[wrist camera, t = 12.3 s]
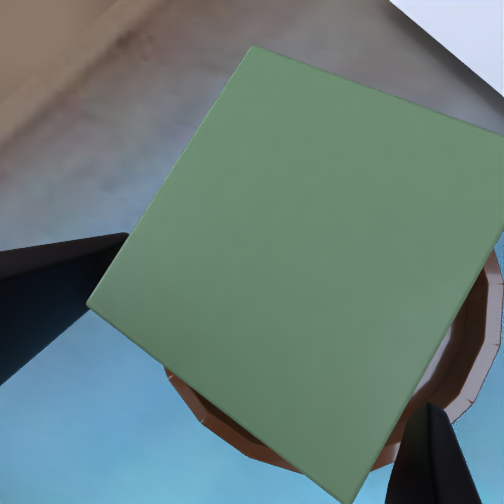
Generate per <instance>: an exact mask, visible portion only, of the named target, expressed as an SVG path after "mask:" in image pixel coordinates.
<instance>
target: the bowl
mask: <svg viewBox="0 0 504 504" xmlns="http://www.w3.org/2000/svg"><path fill="white" fill-rule="evenodd" d="M503 296H504V281H503V278H502V274H501V271H500V268H499V264H498V261H497V257H496V254H495V251H494V248H493V250H492V252H491V254H490V256H489V257H488V259H487V261H486V263H485V265H484V266H483V268H482V270H481V272H480V274H479V275H478V277H477V279H476V281H475V283H474V284H473V286H472V288H471V290H470V292H469V293H468V295H467V297H466V299H465V301H464V303H463V304H462V306H461V308H460V310H459V312H458V313H457V315H456V317H455V319H454V321H453V322H452V324H451V326H450V328H449V330H448V331H447V333H446V335H445V337H444V339H443V340H442V342H441V344H440V346H439V348H438V349H437V351H436V353H435V355H434V357H433V359H432V360H431V362H430V364H429V366H428V368H427V369H426V371H425V373H424V375H423V377H422V378H421V380H420V382H419V384H418V386H417V387H416V389H415V391H414V393H413V395H412V396H411V398H410V400H409V402H408V404H407V405H406V407H405V409H404V411H403V413H402V415H401V416H400V418H399V420H398V422H397V424H396V425H395V427H394V429H393V431H392V433H391V434H390V436H389V438H388V440H387V442H386V443H385V445H384V447H383V449H382V451H381V452H380V454H379V456H378V458H377V460H376V461H375V463H374V465H373V467H372V469H371V471H374V470H376V469H378V468H381V467H383V466H386V465H388V464H390V463H393V462H395V460H396V456H397V453H398V450H399V446H400V443H401V440H402V436H403V433H404V430H405V427H406V424H407V421H408V419H409V418H410V417H411V415H412V414H414V413H415V412H416V411H417V410H418V409H419V408H420V407H421V406H422V405H423V404H424V403H425V402H431V403H433V404H435V405H436V406H438V407H440V408H442V409H443V410H445V412H446V413H447V415H448V417H449V420H450V422H451V425H452V424H453V423H454V422H455V421H456V420H457V419H458V418H459V417H460V416H461V415H462V414H463V413H464V412H465V411H466V410H467V409H469V408H470V407H471V406H472V404H473V403H474V402H475V400H476V398H477V396H478V393H479V391H480V389H481V387H482V385H483V383H484V380H485V378H486V376H487V374H488V372H489V370H490V367H491V365H492V363H493V361H494V359H495V357H496V354H497V352H498V350H499V348H500V343H501V327H502V312H503ZM164 369H165V372H166V375H167V377H168V378H169V381H170V382H171V384H172V385H173V386H174V388H175V389H176V391H177V392H178V393H179V395H180V396H181V397H182V399H183V400H184V401H185V403H186V404H187V405H188V407H189V408H190V410H191V411H192V412H193V414H194V415H195V416H196V418H197V419H198V420H199V422H201V424H202V425H204V426H205V427H207V428H208V429H209V430H211V431H212V432H214V433H215V434H216V435H218V436H219V437H220V438H222V439H223V440H225V441H226V442H227V443H229V444H230V445H232V446H233V447H234V448H236V449H237V450H238V451H240V452H241V453H243V454H244V455H245V456H248V457H249V458H252V459H255V460H258V461H262V462H265V463H268V464H271V465H274V466H278V467H281V468H284V469H287V470H290V471H294V472H297V473H300V474H303V473H302V472H300V471H299V470H298V469H296V468H295V467H294V466H292V465H291V464H290V463H289V462H287V461H286V460H285V459H283V458H282V457H281V456H280V455H278V454H277V453H276V452H274V451H273V450H272V449H271V448H269V447H268V446H267V445H265V444H264V443H263V442H261V441H260V440H259V439H258V438H256V437H255V436H254V435H252V434H251V433H250V432H249V431H247V430H246V429H245V428H243V427H242V426H241V425H240V424H238V423H237V422H236V421H234V420H233V419H232V418H231V417H229V416H228V415H227V414H225V413H224V412H223V411H221V410H220V409H219V408H218V407H216V406H215V405H214V404H212V403H211V402H210V401H209V400H207V399H206V398H205V397H203V396H202V395H201V394H200V393H198V392H197V391H196V390H194V389H193V388H192V387H190V386H189V385H188V384H187V383H185V382H184V381H183V380H181V379H180V378H179V377H178V376H176V375H175V374H174V373H172V372H171V371H170V370H169V369H167V368H166V367H165V366H164ZM371 471H370V472H371ZM303 475H304V474H303Z"/></svg>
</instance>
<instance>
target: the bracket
mask: <svg viewBox="0 0 504 504" xmlns="http://www.w3.org/2000/svg"><path fill="white" fill-rule="evenodd" d="M390 1H391V2H392V3H393V4H394V5H395V6H397V7H398V8H399V9H400V10H401V11H402V12H404V13H405V14H406V15H407V16H408V17H410V18H411V19H412V20H413V21H414V22H416V23H417V24H418V25H419V26H420V27H421V28H423V29H424V30H425V31H426V32H427V33H429V34H430V35H431V36H432V37H433V38H435V39H436V40H437V41H438V42H439V43H441V44H442V45H443V46H444V47H445V48H446V49H448V50H449V51H450V52H451V53H452V54H454V55H455V56H456V57H457V58H458V59H460V60H461V61H462V62H463V63H464V64H465V65H467V66H468V67H469V68H470V69H471V70H473V71H474V72H475V73H476V74H477V75H479V76H480V77H481V78H482V79H483V80H484V81H486V82H487V83H488V84H489V85H490V86H492V87H493V88H494V89H495V90H496V91H498V92H499V93H500V94H501V95H502V96H503V97H504V0H390Z"/></svg>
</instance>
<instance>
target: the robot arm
mask: <svg viewBox="0 0 504 504" xmlns="http://www.w3.org/2000/svg"><path fill="white" fill-rule="evenodd" d="M129 235H130V234H128V233H125V232H123V233H116V234H110V235H103V236H97V237H90V238H84V239H78V240H71V241H65V242H58V243H52V244H45V245H39V246H32V247H26V248H19V249H13V250H6V251H0V386H1V385H2V384H3V383H4V382H6V381H7V380H8V379H9V378H10V377H11V376H13V375H14V374H15V373H16V372H17V371H18V370H20V369H21V368H22V367H23V366H24V365H25V364H27V363H28V362H29V361H30V360H31V359H32V358H34V357H35V356H36V355H37V354H38V353H39V352H41V351H42V350H43V349H44V348H45V347H46V346H48V345H49V344H50V343H51V342H52V341H53V340H55V339H56V338H57V337H58V336H59V335H60V334H62V333H63V332H64V331H65V330H66V329H67V328H69V327H70V326H71V325H72V324H73V323H74V322H76V321H77V320H78V319H79V318H80V317H81V316H83V315H84V314H85V313H86V312H87V311H88V310H90V308H89V307H87V305H86V302H87V300H88V299H89V297H90V296H91V294H92V293H93V291H94V289H95V288H96V286H97V285H98V283H99V282H100V280H101V279H102V277H103V275H104V274H105V272H106V271H107V269H108V268H109V266H110V265H111V263H112V261H113V260H114V258H115V257H116V255H117V254H118V252H119V251H120V249H121V247H122V246H123V244H124V243H125V241H126V240H127V238H128V237H129ZM385 504H482V502H481V499H480V497H479V494H478V492H477V489H476V487H475V484H474V481H473V479H472V476H471V474H470V471H469V469H468V466H467V464H466V461H465V458H464V456H463V453H462V451H461V448H460V446H459V443H458V440H457V438H456V435H455V433H454V430H453V428H452V425H451V422H450V420H449V417H448V415H447V413H446V412H445V410H443V409H442V408H440V407H438V406H436V405H435V404H433V403H431V402H425V403H424V404H423V405H422V406H421V407H420V408H419V409H418V410H417V411H416V412H415V413H414V414H412V415H411V417H410V418H409V419H408V421H407V424H406V427H405V430H404V433H403V436H402V440H401V443H400V446H399V450H398V453H397V456H396V460H395V463H394V466H393V469H392V473H391V476H390V480H389V483H388V488H387V493H386V498H385Z"/></svg>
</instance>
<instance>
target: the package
mask: <svg viewBox="0 0 504 504" xmlns="http://www.w3.org/2000/svg"><path fill="white" fill-rule="evenodd" d="M503 230H504V136H503V135H500V134H497V133H495V132H492V131H489V130H486V129H484V128H481V127H478V126H475V125H473V124H470V123H467V122H465V121H462V120H459V119H456V118H454V117H451V116H448V115H445V114H443V113H440V112H437V111H434V110H432V109H429V108H426V107H423V106H421V105H418V104H415V103H412V102H410V101H407V100H404V99H401V98H399V97H396V96H393V95H391V94H388V93H385V92H382V91H380V90H377V89H374V88H371V87H369V86H366V85H363V84H360V83H358V82H355V81H352V80H349V79H347V78H344V77H341V76H338V75H336V74H333V73H330V72H327V71H325V70H322V69H319V68H317V67H314V66H311V65H308V64H306V63H303V62H300V61H297V60H295V59H292V58H289V57H286V56H284V55H281V54H278V53H275V52H273V51H270V50H267V49H264V48H262V47H259V46H256V45H252V46H251V47H250V48H249V50H248V52H247V53H246V55H245V56H244V58H243V59H242V61H241V62H240V64H239V66H238V67H237V69H236V70H235V72H234V73H233V75H232V76H231V78H230V80H229V81H228V83H227V84H226V86H225V87H224V89H223V90H222V92H221V94H220V95H219V97H218V98H217V100H216V101H215V103H214V104H213V106H212V108H211V109H210V111H209V112H208V114H207V115H206V117H205V118H204V120H203V122H202V123H201V125H200V126H199V128H198V129H197V131H196V132H195V134H194V136H193V137H192V139H191V140H190V142H189V143H188V145H187V146H186V148H185V149H184V151H183V153H182V154H181V156H180V157H179V159H178V160H177V162H176V163H175V165H174V167H173V168H172V170H171V171H170V173H169V174H168V176H167V177H166V179H165V181H164V182H163V184H162V185H161V187H160V188H159V190H158V191H157V193H156V195H155V196H154V198H153V199H152V201H151V202H150V204H149V205H148V207H147V209H146V210H145V212H144V213H143V215H142V216H141V218H140V219H139V221H138V223H137V224H136V226H135V227H134V229H133V230H132V232H131V233H130V235H129V237H128V238H127V240H126V241H125V243H124V244H123V246H122V247H121V249H120V251H119V252H118V254H117V255H116V257H115V258H114V260H113V261H112V263H111V265H110V266H109V268H108V269H107V271H106V272H105V274H104V275H103V277H102V279H101V280H100V282H99V283H98V285H97V286H96V288H95V289H94V291H93V293H92V294H91V296H90V297H89V299H88V300H87V302H86V305H87V307H89V308H90V309H91V310H92V311H94V312H95V313H96V314H98V315H99V316H100V317H101V318H103V319H104V320H105V321H107V322H108V323H109V324H110V325H112V326H113V327H114V328H116V329H117V330H118V331H119V332H121V333H122V334H123V335H125V336H126V337H127V338H129V339H130V340H131V341H132V342H134V343H135V344H136V345H138V346H139V347H140V348H141V349H143V350H144V351H145V352H147V353H148V354H149V355H150V356H152V357H153V358H154V359H156V360H157V361H158V362H160V363H161V364H162V365H163V366H165V367H166V368H167V369H169V370H170V371H171V372H172V373H174V374H175V375H176V376H178V377H179V378H180V379H181V380H183V381H184V382H185V383H187V384H188V385H189V386H190V387H192V388H193V389H194V390H196V391H197V392H198V393H200V394H201V395H202V396H203V397H205V398H206V399H207V400H209V401H210V402H211V403H212V404H214V405H215V406H216V407H218V408H219V409H220V410H221V411H223V412H224V413H225V414H227V415H228V416H229V417H231V418H232V419H233V420H234V421H236V422H237V423H238V424H240V425H241V426H242V427H243V428H245V429H246V430H247V431H249V432H250V433H251V434H252V435H254V436H255V437H256V438H258V439H259V440H260V441H261V442H263V443H264V444H265V445H267V446H268V447H269V448H271V449H272V450H273V451H274V452H276V453H277V454H278V455H280V456H281V457H282V458H283V459H285V460H286V461H287V462H289V463H290V464H291V465H292V466H294V467H295V468H296V469H298V470H299V471H300V472H302V473H303V474H304V475H305V476H307V477H308V478H309V479H311V480H312V481H313V482H314V483H316V484H317V485H318V486H320V487H321V488H322V489H323V490H325V491H326V492H327V493H329V494H330V495H331V496H333V497H334V498H335V499H336V500H338V501H339V502H340V503H342V504H352V503H353V501H354V499H355V498H356V496H357V494H358V492H359V490H360V489H361V487H362V485H363V483H364V481H365V480H366V478H367V476H368V474H369V472H370V471H371V469H372V467H373V465H374V463H375V461H376V460H377V458H378V456H379V454H380V452H381V451H382V449H383V447H384V445H385V443H386V442H387V440H388V438H389V436H390V434H391V433H392V431H393V429H394V427H395V425H396V424H397V422H398V420H399V418H400V416H401V415H402V413H403V411H404V409H405V407H406V405H407V404H408V402H409V400H410V398H411V396H412V395H413V393H414V391H415V389H416V387H417V386H418V384H419V382H420V380H421V378H422V377H423V375H424V373H425V371H426V369H427V368H428V366H429V364H430V362H431V360H432V359H433V357H434V355H435V353H436V351H437V349H438V348H439V346H440V344H441V342H442V340H443V339H444V337H445V335H446V333H447V331H448V330H449V328H450V326H451V324H452V322H453V321H454V319H455V317H456V315H457V313H458V312H459V310H460V308H461V306H462V304H463V303H464V301H465V299H466V297H467V295H468V293H469V292H470V290H471V288H472V286H473V284H474V283H475V281H476V279H477V277H478V275H479V274H480V272H481V270H482V268H483V266H484V265H485V263H486V261H487V259H488V257H489V256H490V254H491V252H492V250H493V248H494V246H495V245H496V243H497V241H498V239H499V237H500V236H501V234H502V232H503Z"/></svg>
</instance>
